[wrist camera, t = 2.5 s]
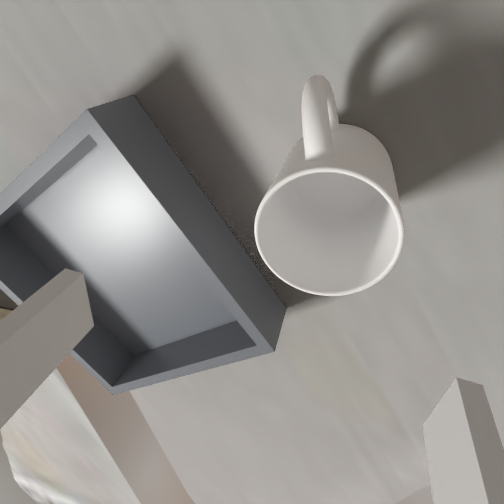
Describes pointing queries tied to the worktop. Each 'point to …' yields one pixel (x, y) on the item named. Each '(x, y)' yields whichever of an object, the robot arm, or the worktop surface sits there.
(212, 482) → the worktop surface
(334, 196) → the mug
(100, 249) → the box
